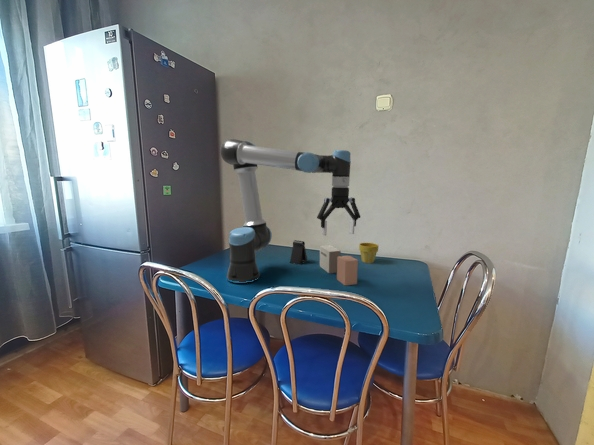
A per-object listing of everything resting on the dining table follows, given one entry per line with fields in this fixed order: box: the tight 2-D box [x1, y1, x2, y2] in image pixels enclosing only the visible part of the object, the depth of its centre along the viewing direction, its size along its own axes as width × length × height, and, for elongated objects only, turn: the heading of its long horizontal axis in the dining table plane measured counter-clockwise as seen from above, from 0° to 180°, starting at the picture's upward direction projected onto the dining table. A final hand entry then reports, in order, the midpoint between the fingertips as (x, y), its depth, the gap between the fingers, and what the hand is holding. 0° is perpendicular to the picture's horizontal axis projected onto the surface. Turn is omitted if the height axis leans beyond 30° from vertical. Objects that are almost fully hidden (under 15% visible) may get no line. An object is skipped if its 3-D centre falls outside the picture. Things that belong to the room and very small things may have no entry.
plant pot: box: [358, 242, 379, 264], centre depth 158 cm, size 10×10×10 cm
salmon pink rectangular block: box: [336, 254, 359, 286], centre depth 128 cm, size 6×8×11 cm
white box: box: [319, 244, 342, 274], centre depth 145 cm, size 6×12×11 cm, turn 18°
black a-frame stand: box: [289, 239, 308, 265], centre depth 158 cm, size 9×6×12 cm, turn 147°
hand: (338, 234), depth 127 cm, fingers open, 13 cm apart
